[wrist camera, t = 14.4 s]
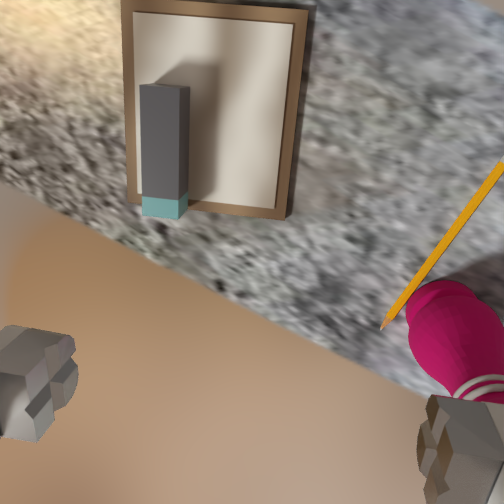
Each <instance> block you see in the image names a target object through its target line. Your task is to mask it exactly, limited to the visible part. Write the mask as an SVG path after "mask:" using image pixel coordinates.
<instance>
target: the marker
mask: <svg viewBox="0 0 504 504" xmlns="http://www.w3.org/2000/svg"><path fill="white" fill-rule="evenodd" d="M139 93H140V136H141V178H142V215H144V216H153V217H161V218H170V219H179V218H180V217H181V216H182V215H183V214H184V212H185V211H186V210H187V209H188V177H189V126H190V86H178V85H167V84H156V83H151V84H142V85H139Z"/></svg>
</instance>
